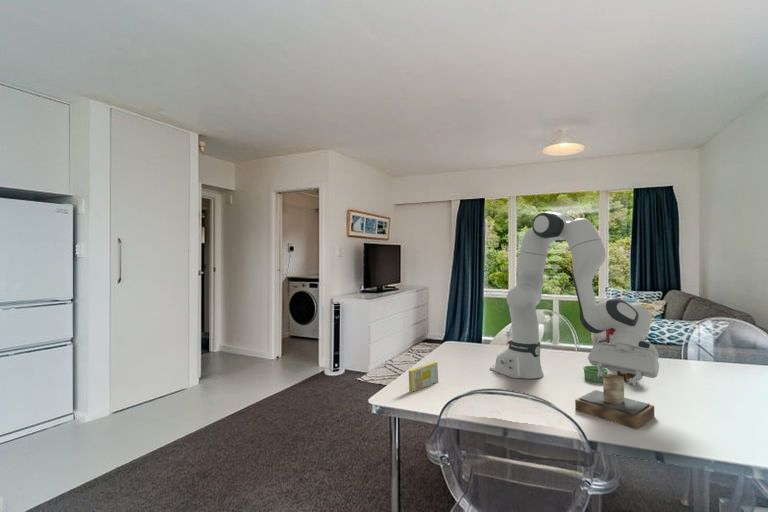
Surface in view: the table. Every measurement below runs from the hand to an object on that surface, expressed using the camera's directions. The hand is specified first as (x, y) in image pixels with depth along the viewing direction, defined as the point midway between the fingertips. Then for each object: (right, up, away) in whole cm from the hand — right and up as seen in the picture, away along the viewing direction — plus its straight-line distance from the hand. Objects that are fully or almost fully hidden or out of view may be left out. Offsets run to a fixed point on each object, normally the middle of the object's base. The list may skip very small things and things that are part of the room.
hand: (615, 380), depth 123 cm
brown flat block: (-1, -10, -1) cm, 10 cm away
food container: (+25, -10, +32) cm, 42 cm away
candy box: (-60, -11, +26) cm, 66 cm away
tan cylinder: (-1, -6, -1) cm, 6 cm away
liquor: (+29, -10, +47) cm, 56 cm away
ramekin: (+12, -10, +33) cm, 37 cm away
